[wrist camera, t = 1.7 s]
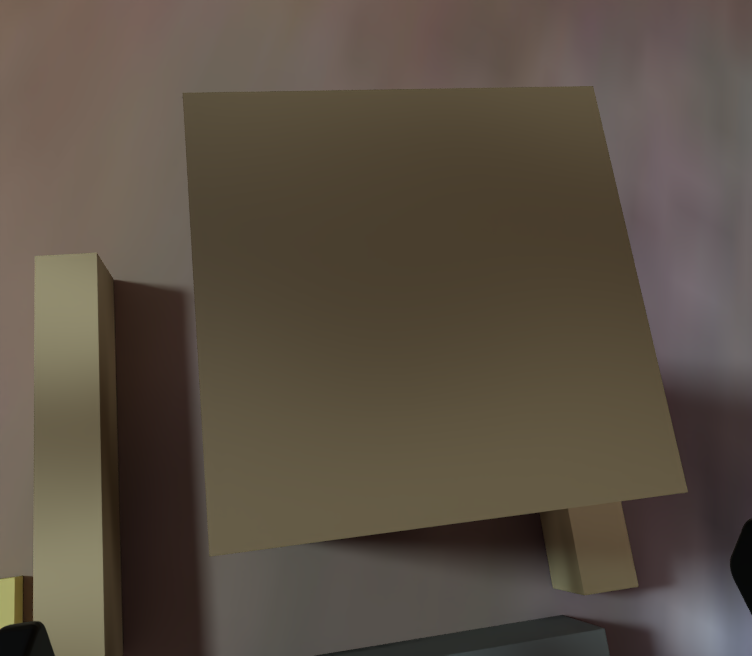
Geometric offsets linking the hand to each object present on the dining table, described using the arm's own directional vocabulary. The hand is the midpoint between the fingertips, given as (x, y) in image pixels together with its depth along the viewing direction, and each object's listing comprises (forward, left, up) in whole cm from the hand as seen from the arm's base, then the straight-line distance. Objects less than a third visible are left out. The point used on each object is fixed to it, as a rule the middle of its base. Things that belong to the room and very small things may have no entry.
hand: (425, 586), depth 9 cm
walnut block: (+2, -2, -10) cm, 11 cm away
